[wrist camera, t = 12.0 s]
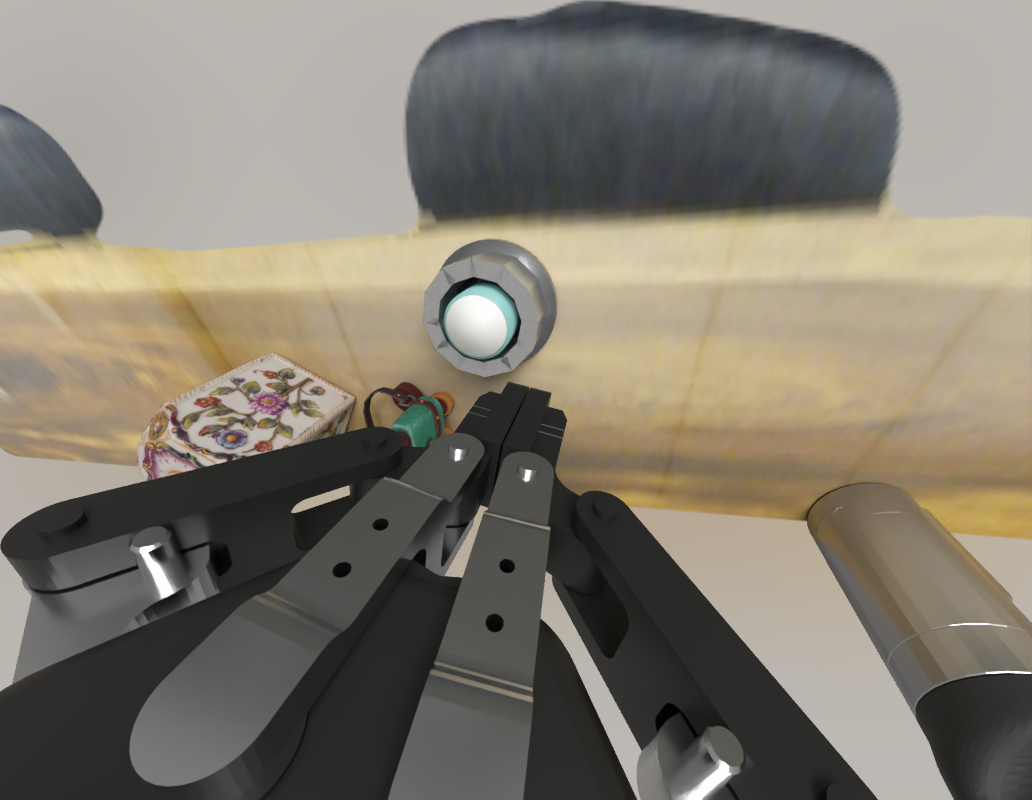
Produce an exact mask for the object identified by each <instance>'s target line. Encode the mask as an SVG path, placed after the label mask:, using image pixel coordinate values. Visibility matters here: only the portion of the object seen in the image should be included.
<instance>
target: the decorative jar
mask: <svg viewBox="0 0 1032 800" xmlns="http://www.w3.org/2000/svg"><path fill="white" fill-rule="evenodd" d="M354 403H355V396H353V395H351V394H349V393H347V392H346V391H343V390H342V389H340V388H338V387H337V386H335V385H333V384H332V383H330V382H328V381H326V380H324V379H323V378H321V377H319V376H317V375H315V374H313V373H312V372H310V371H308V370H306V369H304V368H302V367H300V366H298V365H297V364H295V363H293V362H291V361H289V360H288V359H286V358H284V357H282V356H280V355H279V354H277V353H270V354H267V355H264V356H262V357H260V358H258V359H255V360H253V361H251V362H248V363H246V364H244V365H242V366H240V367H238V368H236V369H234V370H232V371H230V372H228V373H226V374H224V375H222V376H220V377H218V378H216V379H213V380H211V381H209V382H207V383H205V384H203V385H201V386H199V387H196V388H195V389H192V390H190V391H188V392H186V393H184V394H182V395H180V396H178V397H176V398H174V399H172V400H170V401H168V402H167V403H165V404H164V405H162V406H161V407H160V408H159V411H158V413H157V414H156V415H155V416H154V417H153V419H152V420H151V422H150V424H149V427H148V428H147V430H146V431H145V432H144V434H143V435H142V437H141V438H140V440H139V442H138V444H137V451H138V460H137V462H138V466H139V471H140V474H141V476H142V477H143V479H144V480H145V481H149V480H153V479H157V478H161V477H165V476H169V475H173V474H177V473H182V472H186V471H190V470H194V469H198V468H202V467H206V466H210V465H215V464H219V463H223V462H227V461H231V460H235V459H239V458H243V457H248V456H252V455H256V454H260V453H264V452H268V451H272V450H276V449H281V448H285V447H289V446H293V445H297V444H301V443H305V442H309V441H314V440H318V439H322V438H326V437H330V436H334V435H338V434H343V433H345V431H346V428H347V425H348V422H349V419H350V415H351V412H352V409H353V406H354Z"/></svg>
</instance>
